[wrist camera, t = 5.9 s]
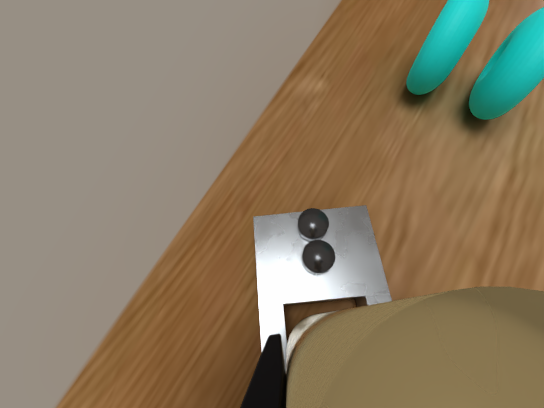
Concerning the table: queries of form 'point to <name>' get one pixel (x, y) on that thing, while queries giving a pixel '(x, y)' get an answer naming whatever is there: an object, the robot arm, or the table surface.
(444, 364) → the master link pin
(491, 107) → the donuts
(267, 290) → the bolted metal plate
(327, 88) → the table surface
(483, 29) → the table surface
